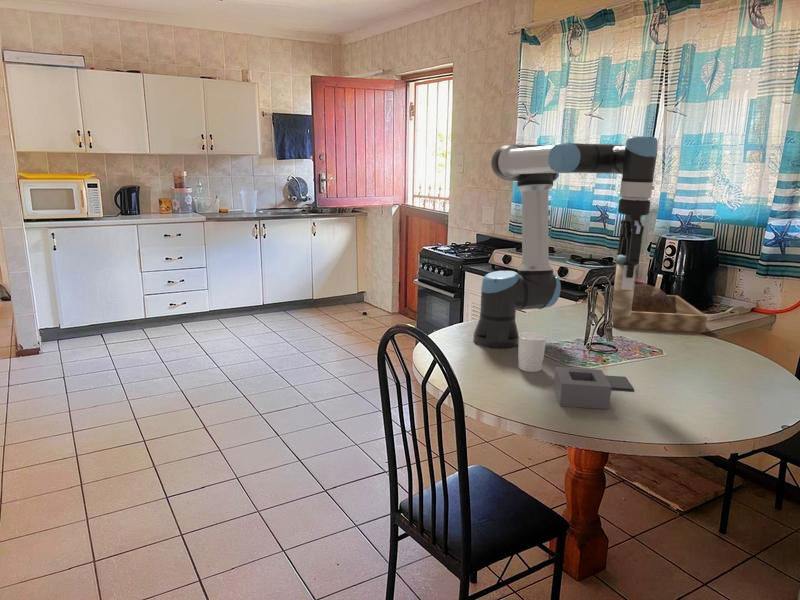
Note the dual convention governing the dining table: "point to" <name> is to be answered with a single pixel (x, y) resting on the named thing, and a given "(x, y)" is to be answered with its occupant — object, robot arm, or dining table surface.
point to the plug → (622, 292)
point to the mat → (619, 383)
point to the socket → (582, 388)
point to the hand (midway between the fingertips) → (624, 286)
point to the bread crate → (661, 317)
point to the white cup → (531, 351)
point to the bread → (651, 300)
